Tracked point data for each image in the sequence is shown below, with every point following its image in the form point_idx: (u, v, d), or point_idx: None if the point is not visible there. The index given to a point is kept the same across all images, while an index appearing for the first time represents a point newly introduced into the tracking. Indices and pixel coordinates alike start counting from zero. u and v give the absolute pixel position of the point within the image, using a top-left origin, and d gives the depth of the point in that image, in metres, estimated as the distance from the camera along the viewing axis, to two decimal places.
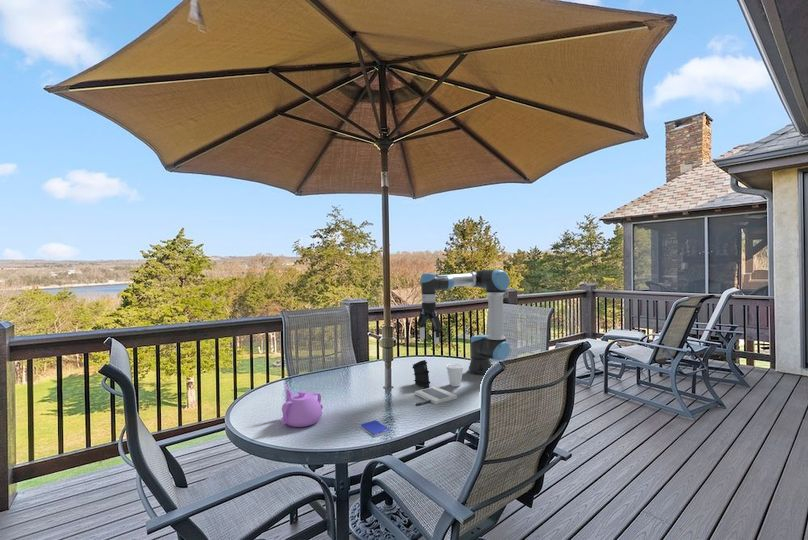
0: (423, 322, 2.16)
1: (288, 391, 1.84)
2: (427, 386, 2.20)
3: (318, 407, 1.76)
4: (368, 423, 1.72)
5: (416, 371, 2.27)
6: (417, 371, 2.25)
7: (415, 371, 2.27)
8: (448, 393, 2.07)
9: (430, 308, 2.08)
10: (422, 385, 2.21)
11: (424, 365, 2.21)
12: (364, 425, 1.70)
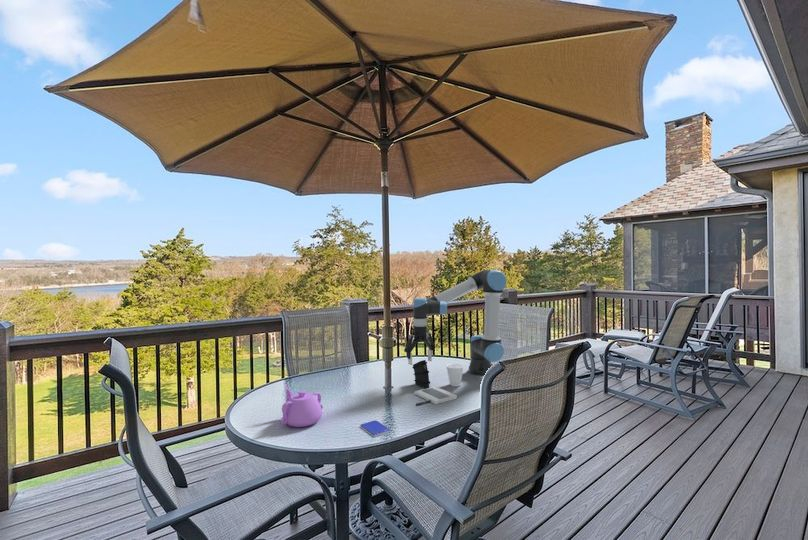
0: (426, 344, 2.28)
1: (288, 391, 1.84)
2: (427, 386, 2.20)
3: (318, 407, 1.76)
4: (368, 423, 1.72)
5: (416, 371, 2.27)
6: (417, 371, 2.25)
7: (415, 371, 2.27)
8: (448, 393, 2.07)
9: (413, 331, 2.24)
10: (422, 385, 2.21)
11: (424, 365, 2.21)
12: (364, 425, 1.70)
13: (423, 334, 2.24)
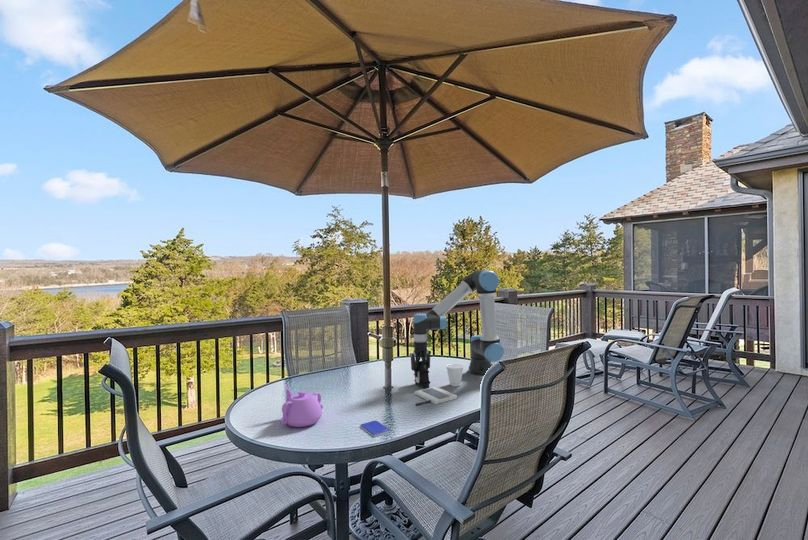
0: None
1: (288, 391, 1.84)
2: (427, 386, 2.20)
3: (318, 407, 1.76)
4: (368, 423, 1.72)
5: None
6: None
7: None
8: (448, 393, 2.07)
9: (414, 346, 2.24)
10: (422, 385, 2.21)
11: (424, 365, 2.21)
12: (364, 425, 1.70)
13: (423, 349, 2.25)
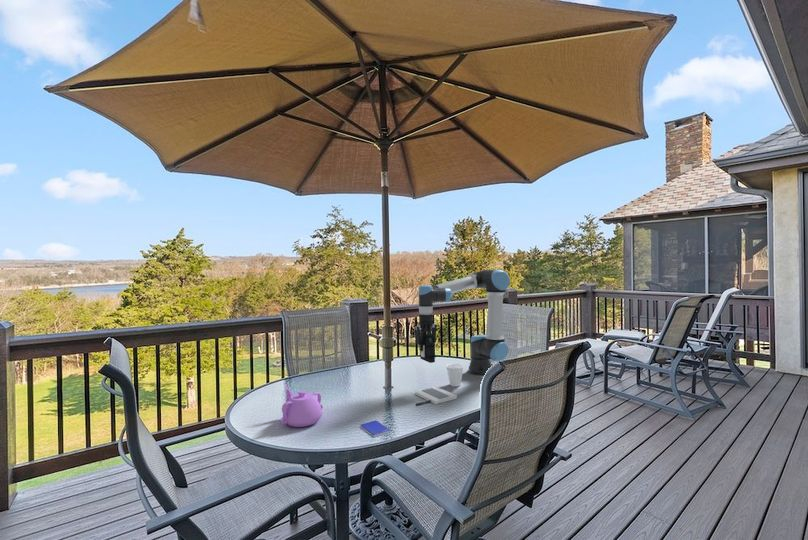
0: None
1: (288, 391, 1.84)
2: (432, 360, 2.11)
3: (318, 407, 1.76)
4: (368, 423, 1.72)
5: None
6: None
7: None
8: (448, 393, 2.07)
9: (419, 319, 2.15)
10: (427, 359, 2.12)
11: (429, 338, 2.12)
12: (364, 425, 1.70)
13: (429, 322, 2.16)
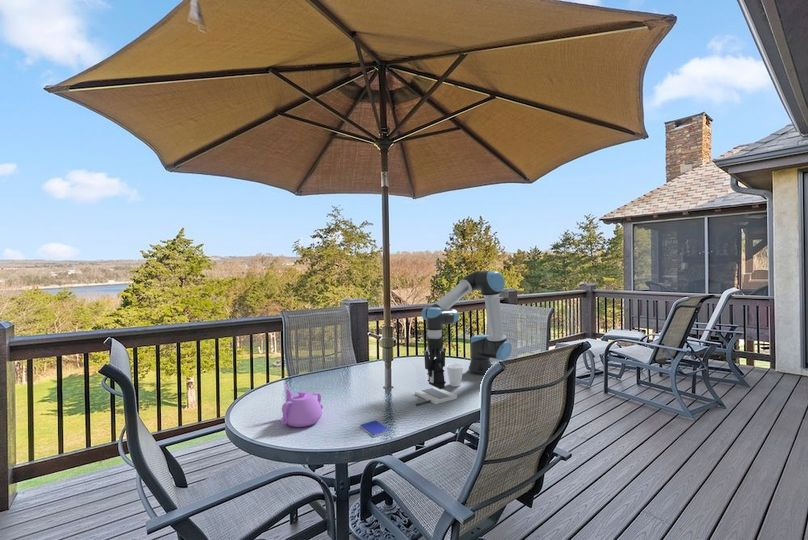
0: None
1: (288, 391, 1.84)
2: (442, 386, 2.01)
3: (318, 407, 1.76)
4: (368, 423, 1.72)
5: None
6: None
7: None
8: (448, 393, 2.07)
9: None
10: (437, 385, 2.03)
11: (439, 363, 2.03)
12: (364, 425, 1.70)
13: (438, 346, 2.06)
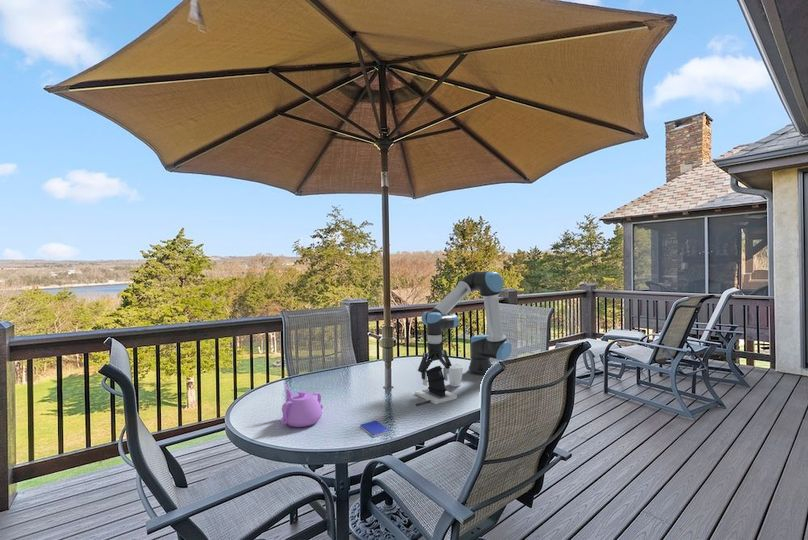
0: (442, 362, 2.10)
1: (288, 391, 1.84)
2: (443, 394, 2.02)
3: (318, 407, 1.76)
4: (368, 423, 1.72)
5: (430, 377, 2.08)
6: (431, 378, 2.07)
7: (429, 378, 2.09)
8: (448, 393, 2.07)
9: None
10: (437, 393, 2.03)
11: (439, 371, 2.03)
12: (364, 425, 1.70)
13: (438, 352, 2.06)
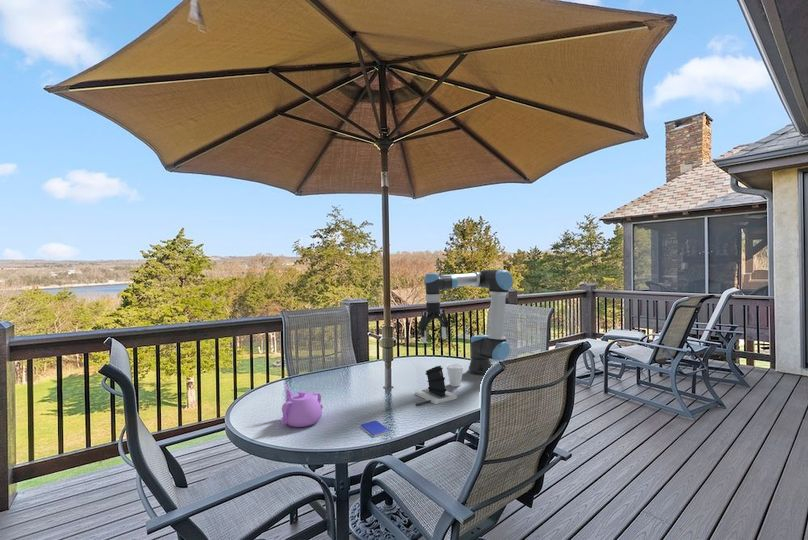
0: (440, 322, 2.17)
1: (288, 391, 1.84)
2: (443, 394, 2.02)
3: (318, 407, 1.76)
4: (368, 423, 1.72)
5: (430, 377, 2.08)
6: (431, 378, 2.07)
7: (429, 378, 2.09)
8: (448, 393, 2.07)
9: (426, 307, 2.13)
10: (437, 393, 2.03)
11: (439, 371, 2.03)
12: (364, 425, 1.70)
13: (436, 311, 2.13)
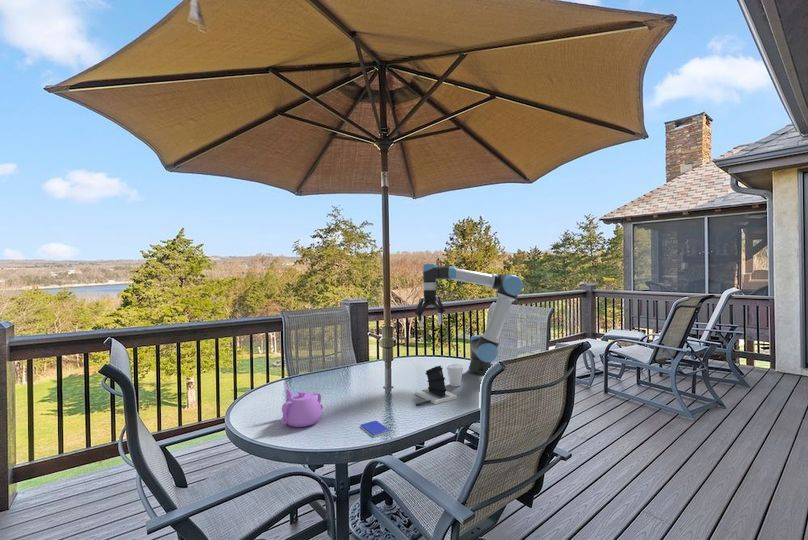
0: (436, 308, 2.37)
1: (288, 391, 1.84)
2: (443, 394, 2.02)
3: (318, 407, 1.76)
4: (368, 423, 1.72)
5: (430, 377, 2.08)
6: (431, 378, 2.07)
7: (429, 378, 2.09)
8: (448, 393, 2.07)
9: None
10: (437, 393, 2.03)
11: (440, 371, 2.03)
12: (364, 425, 1.70)
13: (433, 298, 2.34)
